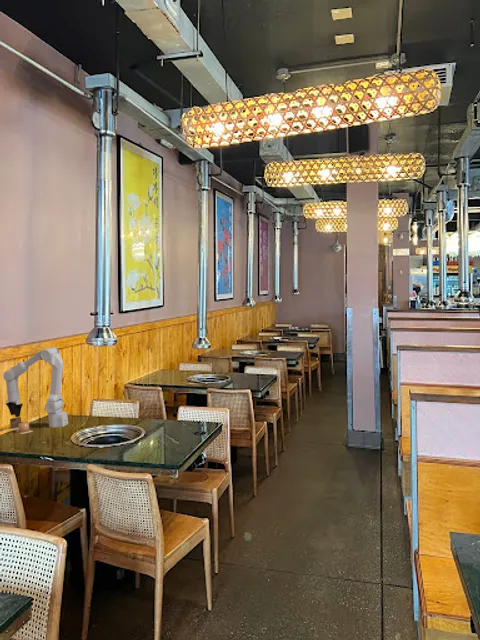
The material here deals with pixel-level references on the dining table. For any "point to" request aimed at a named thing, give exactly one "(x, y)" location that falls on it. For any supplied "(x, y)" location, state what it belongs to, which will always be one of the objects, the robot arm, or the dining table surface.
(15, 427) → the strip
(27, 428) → the tan round lump
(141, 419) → the dining table surface
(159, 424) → the dining table surface
